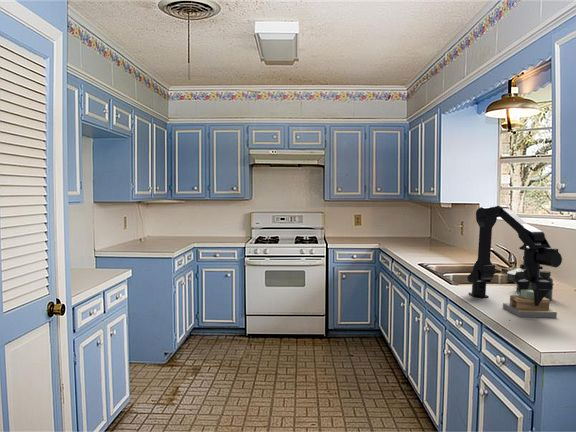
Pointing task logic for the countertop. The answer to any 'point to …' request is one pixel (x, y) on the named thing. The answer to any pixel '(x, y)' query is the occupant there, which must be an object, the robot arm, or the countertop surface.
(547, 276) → the supplement bottle
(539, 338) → the countertop surface
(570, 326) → the countertop surface
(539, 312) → the dock
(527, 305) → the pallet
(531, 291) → the pale green block
